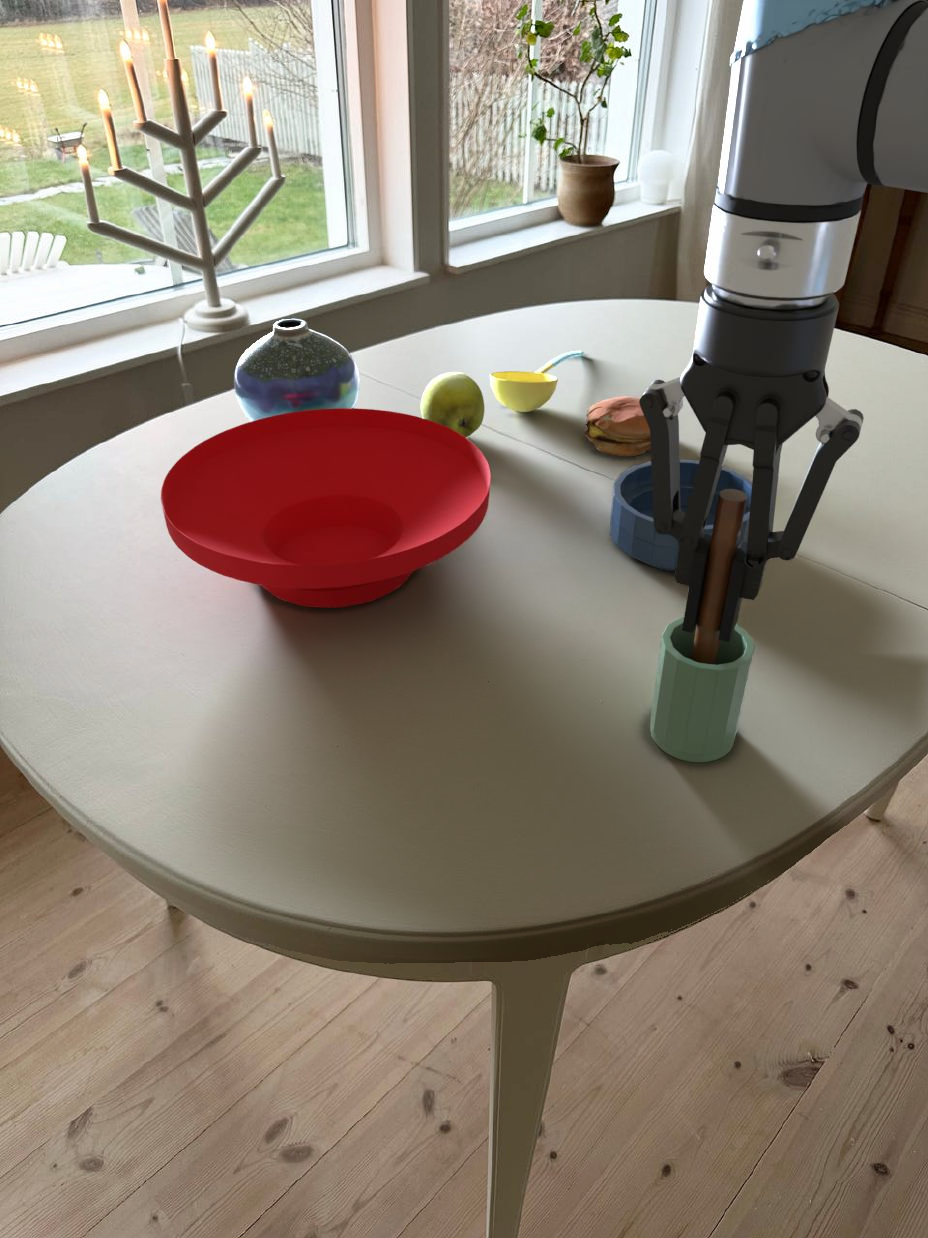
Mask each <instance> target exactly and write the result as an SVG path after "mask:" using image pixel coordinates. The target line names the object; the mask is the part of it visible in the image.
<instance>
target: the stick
mask: <svg viewBox="0 0 928 1238" xmlns="http://www.w3.org/2000/svg"><path fill="white" fill-rule="evenodd" d="M746 503H747V495H746V494H745V493H744V492H742V491H740V490H736V489H725V490H722V491H721V492H720V493H719V495H718V501H717V507H716V513H715V519H714V525H713V531H712V537H711V543H710V549H709V555H708V561H707V567H706V573H705V579H704V584H703V590H702V596H701V602H700V608H699V614H698V620H697V626H696V632H695V638H694V644H693V650H692V656H691V660H693V661H696V662H698V663H704V664H713V665H716V661H717V656H718V650H719V645H720V640H718V638H719V633H720V628H721V623H722V617H723V612H724V607H725V601H726V596H727V591H728V586H729V580H730V575H731V570H732V565H733V560H734V558H735V555H736V553H737V550H738V545H739V540H740V534H741V529H742V524H743V519H744V513H745V508H746Z"/></svg>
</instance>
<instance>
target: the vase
mask: <svg viewBox="0 0 928 1238" xmlns="http://www.w3.org/2000/svg"><path fill="white" fill-rule="evenodd" d="M272 326H273V327H272V332H270V333H268V334H267V335H264V336H263V337H261V338H260V339H259V340H257V341H256V342H255V343H253V344H252V345H251V346H250V347H249V348H247V349H246V350H245V351H244V353H243V354H242V355H241V356H240V358H239V359H238V362H237V364H236V366H235V370H234V375H233V386H234V392H235V396H236V399H237V403H238V404H239V407H240V408H241V410H242V412H243V414H244V415H245V416H246V417H247V419H249V420H250V422H252V421H255V420H259V419H262V418H267V417H271V416H275V415H280V414H286V413H292V412H299V411H307V410H317V409H336V408H355V406H356V403H357V401H358V398H359V393H360V374H359V369H358V367H357V363H356V361H355V360H354V358H353V356H352V355H351V353H350V352H349V351H348V350H347V349H346V347H345V346H343V344H341V343H340V342H339V341H337V340H335V339H333V338H331V337H329V336H328V335H325V334H324V333H320V332H318V331H315V330H312V329H310V328H309V326H308V323H307V321H306V320H303V319H300V318H291V319H290V318H289V319H281V320H279V321H276V322H275V323H274V324H273V325H272Z"/></svg>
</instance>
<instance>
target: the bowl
mask: <svg viewBox="0 0 928 1238" xmlns="http://www.w3.org/2000/svg"><path fill="white" fill-rule="evenodd" d="M491 474H492V473H491V469H490V465H489V462H488V460H487V459H486V457H485V455H484V453H483V452H482V450H481V449H479V448H478V447H477V445H476V444H474V443H473V442H472V441H471V440H470V439H468V437H466V438H465V437H464V436H463V435H461V434H459V433H458V432H456V431H454V430H452V429H450V428H448V427H446V426H444V425H441V424H438V423H436V422H433V421H430V420H427V419H423V417H421V416H420V417H419V416H417V415H413V414H408V413H403V412H397V411H391V410H382V409H372V408H355V407H354V408H336V409H317V410H307V411H299V412H292V413H286V414H280V415H275V416H271V417H267V418H262V419H259V420H255V421H249V422H245V423H242V424H240V425H237V426H233V427H231V428H229V429H226V430H224V431H223V430H222V431H221V432H219V433H217V434H215V435H213V436H211V437H209V438H207V439H205V440H203V441H202V442H200V443H198V444H197V445H195V446H194V447H192V448H191V449H190V450H189V451H187V452H186V453H185V454H183V455H182V456H181V457H180V458H179V459H178V460H177V461H176V462H174V464H173V465H172V467H171V468H170V470H169V471H168V472H167V474H166V476H165V478H164V479H163V482H162V485H161V490H160V503H161V507H162V513H163V516H164V520H165V525H166V529H167V532H168V534H169V537H170V538H171V540H172V542H173V543H174V544H175V546H176V547H177V548H178V549H179V550H180V551H181V552H182V553H183V554H184V555H185V556H186V557H188V558H189V559H190V560H192V562H193V561H194V562H195V563H196V564H197V565H199V566H202V567H203V568H205V569H208V570H209V571H211V572H214V573H216V574H219V575H221V576H225V577H227V578H230V579H234V580H237V581H241V582H245V583H250V584H253V585H259V586H262V588H263V589H264V590H266V591H267V592H269V593H270V594H271V595H272V596H274V597H275V598H277V599H279V600H282V601H284V602H288V603H291V604H295V605H299V606H302V607H308V608H346V607H350V606H355V605H360V604H365V603H370V602H372V601H376V600H377V599H380V598H382V597H384V596H387V595H388V594H390V593H392V592H394V591H395V590H397V589H398V588H400V587H401V586H402V585H403V584H404V583H406V581H407V580H408V579H409V577H410V576H411V575H412V574H413V572H414V571H416V570H420V569H421V568H424V567H426V566H428V565H430V564H433V563H435V562H437V561H439V560H441V559H442V558H444V557H446V556H448V555H449V554H451V553H452V552H453V551H455V550H457V549H458V548H459V547H461V546H462V545H463V544H465V542H467V541H468V540H469V539H470V538H471V537H472V536H473V535H474V534H475V532H476V531H477V530H478V529H479V527H480V526H481V525H482V523H483V521H484V519H485V517H486V515H487V512H488V510H489V502H490V493H491V480H492V479H491V478H492V475H491Z"/></svg>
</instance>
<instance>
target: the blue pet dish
mask: <svg viewBox="0 0 928 1238" xmlns="http://www.w3.org/2000/svg"><path fill="white" fill-rule="evenodd" d="M699 461H700V460H694V459H680V507H681V511H682V512H684V513H685V514H686V510H687V507H688V503H689V499H690V495H691V491H692V487H693V484H694V480H695V476H696V472H697V468H698V465H699ZM725 489H736V490H740V491H742V492H744V493H745V494H746V495H747V503H746V508H745V513H744V519H743V524H742V529H741V534H740V540H739V545H738V548H739V546H740V544H741V541H744V542H747V539H748V527H749V516H750V504H751V492H752V479H749V478H748V477H746V476H744V475H743V474H741V473H740V472H737V471H736V470H734V469H731V468H728V467H725V466H722V468H721V472H720V476H719V479H718V483H717V486H716V490H715V493H714V497H713V501H712V504H711V508H710V511H709V515H708V518H707V521H708V522H707V524H706V526H705V528H704V530H703V534H704V533H705V534H710V535H712V531H713V525H714V519H715V513H716V507H717V501H718V495H719V493H720V492H721V491H722V490H725ZM609 535H610V537H611V538H612V540H613V541H614V543H615V544H616V546H617V547H618V548H619V549H620V550H622V552H624V553H626V554H627V555H628V556H630V557H631V558H633V559H635V560H638V561H639V562H641V563H644V564H646V565H647V566H651V567H654V568H657V569H661V570H665V571H671V572H676V565H677V559H678V552H679V543H678V541H677V540H676V539H675V538H674V537H672V536H670V535H668V534H666V535H661V534H659V533H657V532H656V531H655V529H654V521H653V495H652V469H651V461H647V462H644V463H641V464H637V465H634V466H631V467H630V468H628V469H626V470H625V471H623V472H621V473H619V476H618V477H617V478H616V480H615V481H614V483H613V488H612V499H611V508H610V521H609ZM737 551H738V550H737Z"/></svg>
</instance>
